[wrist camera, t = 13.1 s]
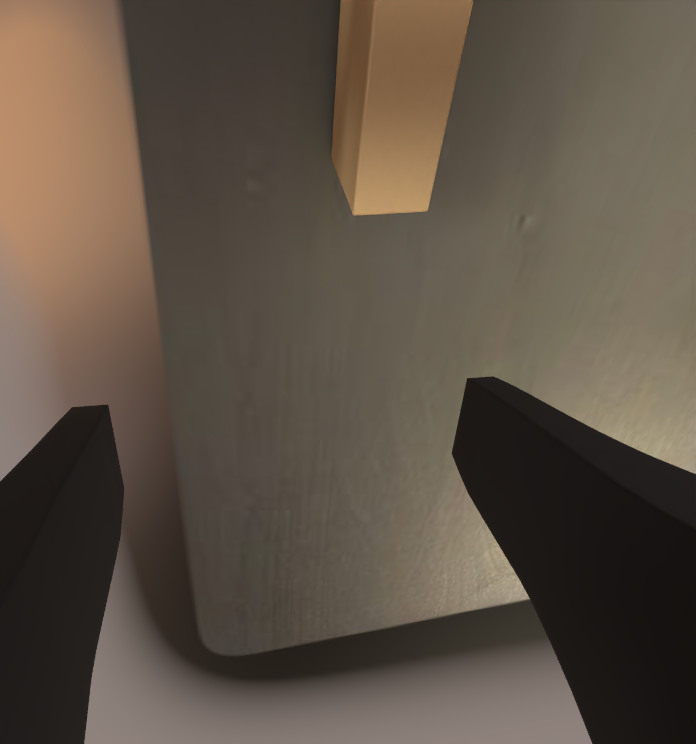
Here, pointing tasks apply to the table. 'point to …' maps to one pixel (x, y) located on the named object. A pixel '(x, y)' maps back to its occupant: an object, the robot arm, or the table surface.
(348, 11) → the cake knife
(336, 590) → the table surface
